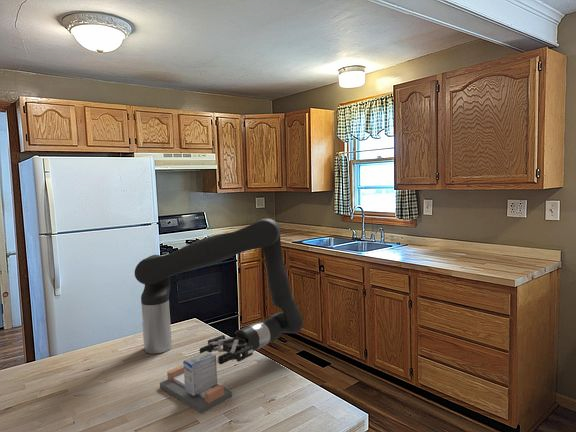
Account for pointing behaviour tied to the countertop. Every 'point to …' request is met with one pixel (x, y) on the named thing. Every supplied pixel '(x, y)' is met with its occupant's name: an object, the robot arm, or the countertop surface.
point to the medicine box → (200, 372)
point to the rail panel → (197, 402)
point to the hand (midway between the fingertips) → (209, 356)
